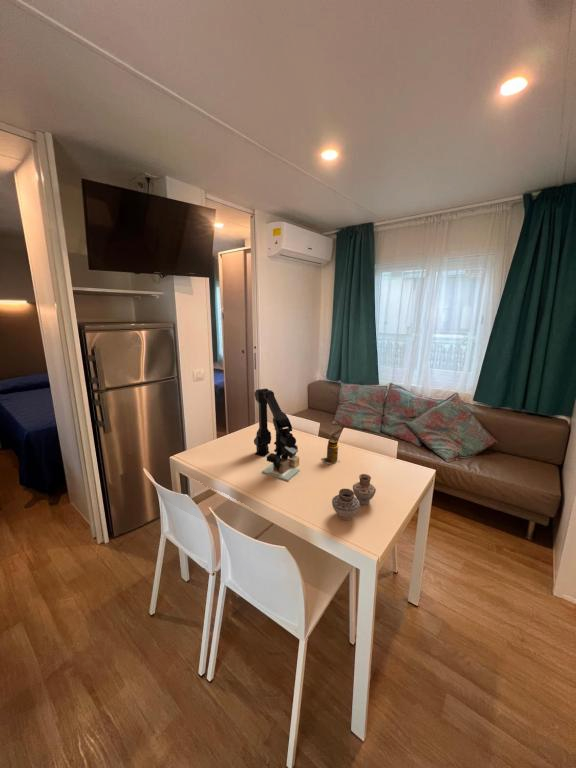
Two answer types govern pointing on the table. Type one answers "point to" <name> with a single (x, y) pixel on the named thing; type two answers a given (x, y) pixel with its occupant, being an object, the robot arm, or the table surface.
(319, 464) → the table surface
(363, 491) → the pottery
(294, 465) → the oak cube
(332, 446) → the condiment
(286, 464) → the walnut block
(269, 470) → the base board
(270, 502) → the table surface
